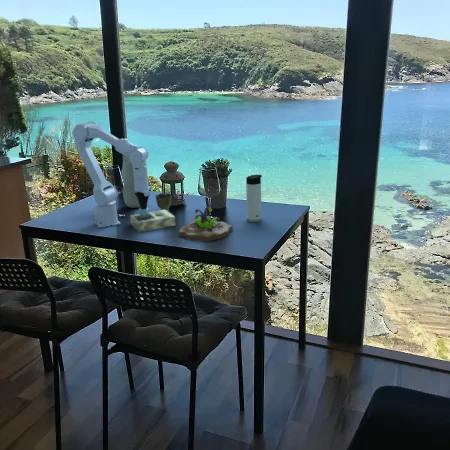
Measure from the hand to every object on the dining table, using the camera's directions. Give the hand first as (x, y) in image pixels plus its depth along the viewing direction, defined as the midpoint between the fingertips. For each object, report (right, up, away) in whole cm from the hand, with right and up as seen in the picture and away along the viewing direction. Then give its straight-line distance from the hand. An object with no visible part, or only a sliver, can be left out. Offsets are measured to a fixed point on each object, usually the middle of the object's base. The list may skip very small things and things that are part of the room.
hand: (143, 208), depth 204 cm
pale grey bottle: (-9, +2, +30) cm, 31 cm away
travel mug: (+47, -5, +5) cm, 48 cm away
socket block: (+3, -7, +4) cm, 9 cm away
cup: (+6, -1, +22) cm, 23 cm away
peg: (0, -4, +1) cm, 4 cm away
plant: (+27, -10, -7) cm, 29 cm away
